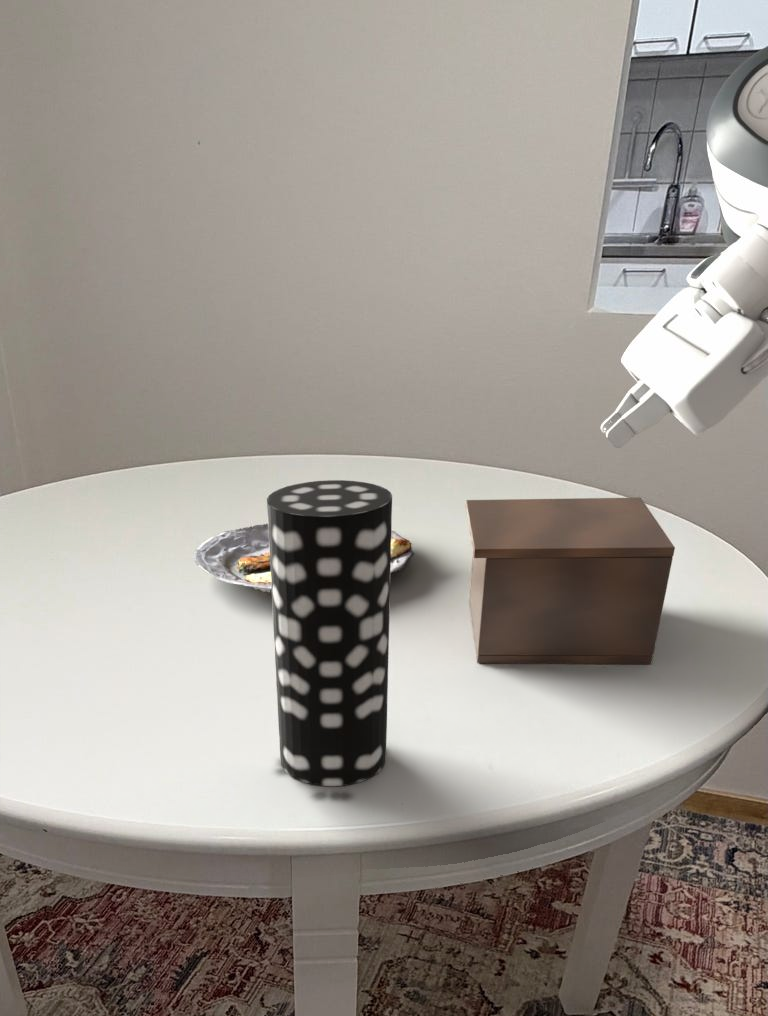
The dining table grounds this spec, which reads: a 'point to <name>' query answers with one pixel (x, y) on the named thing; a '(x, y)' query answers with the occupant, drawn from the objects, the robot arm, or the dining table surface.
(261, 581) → the food plate
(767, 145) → the robot arm
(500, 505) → the lid
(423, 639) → the dining table surface
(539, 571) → the chest
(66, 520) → the dining table surface
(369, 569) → the white-spotted black cylinder
